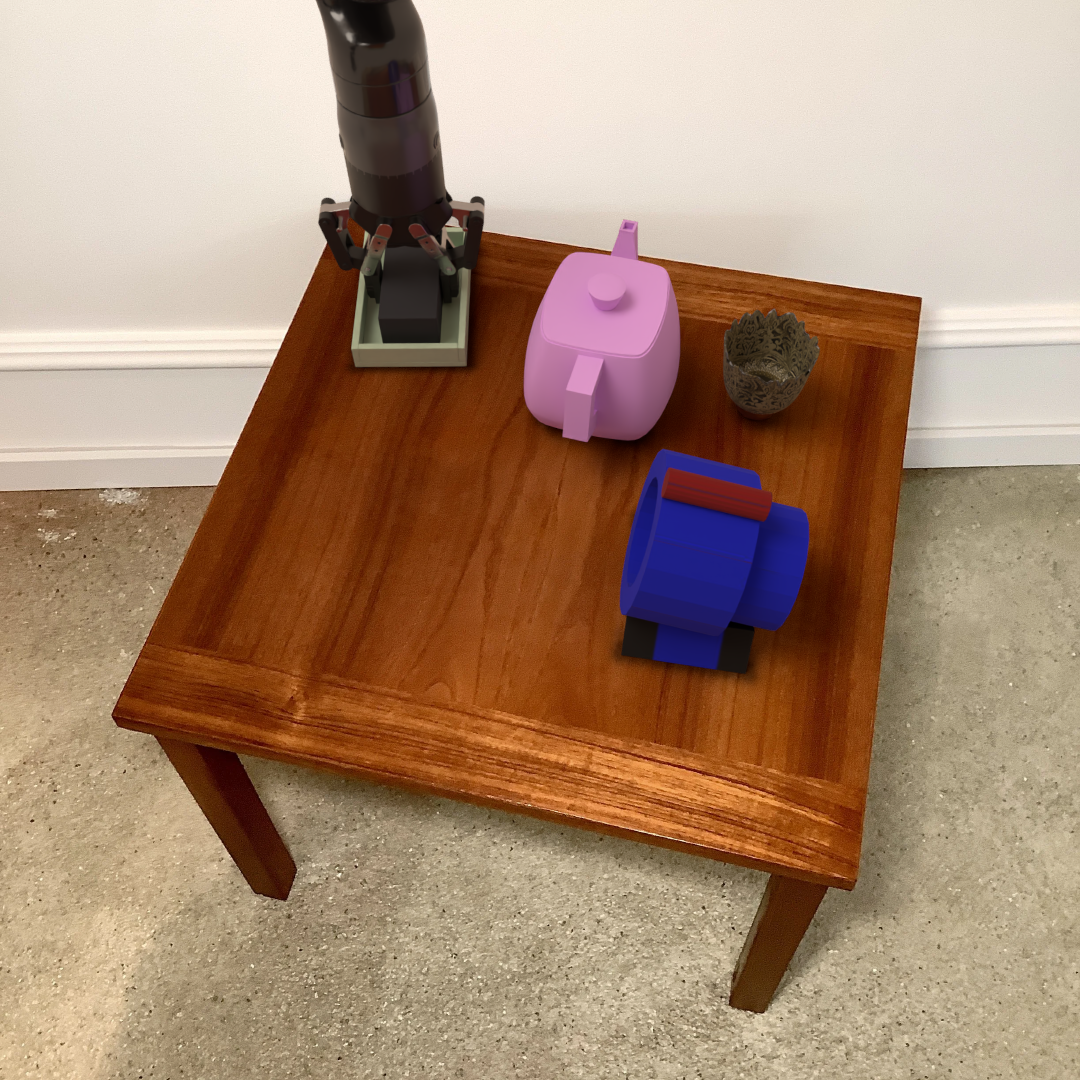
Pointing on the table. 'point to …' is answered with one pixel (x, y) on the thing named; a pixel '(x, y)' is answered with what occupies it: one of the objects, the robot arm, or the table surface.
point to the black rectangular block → (410, 297)
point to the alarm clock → (708, 564)
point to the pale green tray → (445, 353)
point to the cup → (767, 362)
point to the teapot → (604, 344)
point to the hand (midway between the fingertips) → (414, 296)
